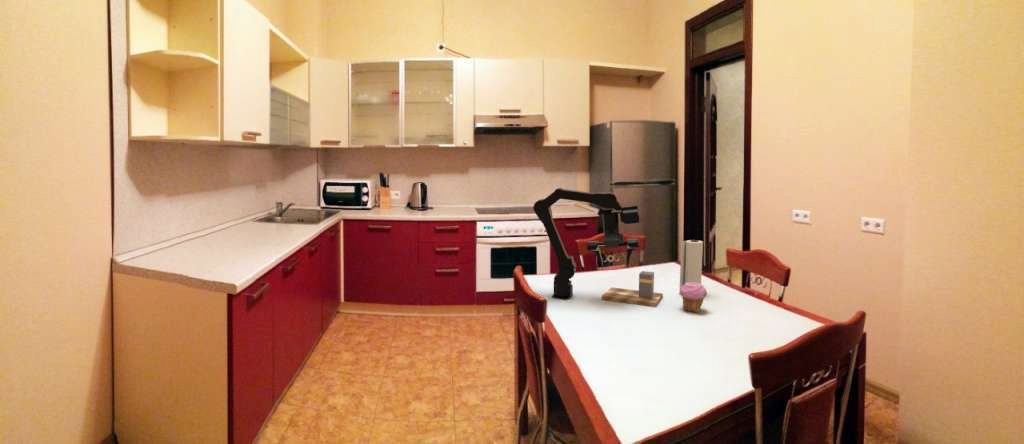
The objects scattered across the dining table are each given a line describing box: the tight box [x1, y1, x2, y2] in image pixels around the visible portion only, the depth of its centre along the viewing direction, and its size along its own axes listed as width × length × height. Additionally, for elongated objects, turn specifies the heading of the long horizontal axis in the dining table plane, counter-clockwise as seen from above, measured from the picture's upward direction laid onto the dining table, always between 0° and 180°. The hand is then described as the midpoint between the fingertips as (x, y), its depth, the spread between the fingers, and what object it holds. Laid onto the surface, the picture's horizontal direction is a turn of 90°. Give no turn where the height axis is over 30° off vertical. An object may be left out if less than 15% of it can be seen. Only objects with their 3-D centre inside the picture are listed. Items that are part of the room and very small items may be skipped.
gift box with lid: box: [638, 270, 655, 299], centre depth 171 cm, size 5×5×9 cm
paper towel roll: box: [678, 239, 704, 296], centre depth 177 cm, size 7×6×21 cm
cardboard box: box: [601, 286, 664, 308], centre depth 174 cm, size 20×13×2 cm, turn 62°
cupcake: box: [679, 282, 708, 313], centre depth 160 cm, size 9×9×10 cm
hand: (614, 267), depth 171 cm, fingers open, 9 cm apart
